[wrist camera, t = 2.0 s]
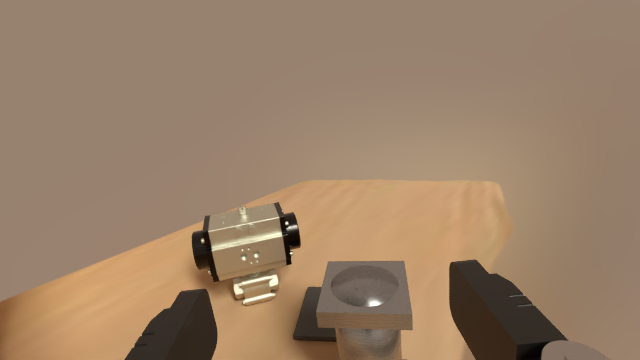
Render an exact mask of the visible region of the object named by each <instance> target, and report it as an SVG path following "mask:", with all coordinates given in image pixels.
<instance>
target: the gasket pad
mask: <svg viewBox="0 0 640 360" xmlns="http://www.w3.org/2000/svg"><path fill="white" fill-rule="evenodd" d="M321 289H322V287H308V289H307V292H306V296H305V299H304V302H303V305H302V309H301V312H300V315H299V319H298V322H297V325H296V329H295V332H294V335H293V336H294V340H322V341H337V339H336V330H335V328H319V327H318V324H317V316H316V310H317V306H318V302H319V298H320V293H321Z"/></svg>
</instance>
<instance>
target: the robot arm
mask: <svg viewBox="0 0 640 360" xmlns="http://www.w3.org/2000/svg"><path fill="white" fill-rule="evenodd" d="M449 300H450V310H451V314H452V317H453V320H454V322H455V324H456V326H457V328H458V329H459V331H460V333H461V335H462V336H463V338H464V340H465V342H466V343H467V345H468V347H469V349H470V350H471V352H472V354H473V356H474V357H475V359H476V360H610V359H609V358H607V357H606V356H605V355H604V354H602V353H600V352H599V351H597V350H595V349H593V348H591V347H589V346H586V345H584V344H581V343H577V342H573V341H568V340H567V339H566V338H565V336H564V335H562V333H561V332H560V331H559V330H558V329H557V328H556V327H555V326H554V325H552V323H551V322H550V321H549V320H548V319H547V318H546V317H545V316H544V315H543V314H542V313H541V312H540V311H539V310H538V309H537V308H536V307H535V306H533V305H532V302H531V301H530V300H529V299H528V298H527V297H526V296H523V293H522V292H521V291H520V290H519V289H518V288H517V287H516V286H515V285H514V284H513V283H512V282H510V281H509V280H507V279H505V278H503V277H501V276H500V275H498V274H489V273H488V272H487V271H486V270H485V269H484V268H483V267H482V266H481V264H480V263H479V262H478V261H477V260H466V261H457V262H451V264H450V268H449ZM216 344H217V326H216V322H215V318H214V314H213V310H212V306H211V302H210V298H209V294H208V292H207V290H206V289H196V290H187V291H181V292H180V293H179V295H178V296H177V298H176V299H175V301H174V303H173V304H172V306H171V307H170V308H168V309H164V310H163V311H162V312H160V313H159V314H158V315H157V316H156V317H155V318H153V319H152V320H151V321H150V323H149V324H148V326H147V327H146V329H145V330H144V332H143V333H142V336H140V337H139V339H138V340H137V342H136V343H135V347H134V348H132V349H131V351H130V352H129V354H128V355H127V357H126V358H125V360H211V359H212V357H213V354H214V351H215V348H216Z"/></svg>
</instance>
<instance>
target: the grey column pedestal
mask: <svg viewBox="0 0 640 360" xmlns="http://www.w3.org/2000/svg"><path fill="white" fill-rule="evenodd" d="M316 316H317V324H318V327H319V328H335V330H336V339H337V348H338V357H339V358H338V360H406V359H402V356H401V330H413V329H412V310H411V303H410V297H409V290H408V284H407V277H406V270H405V264H404V261H334V262H328V264H327V268H326V272H325V277H324V281H323V285H322V289H321V293H320V298H319V302H318V306H317V310H316Z"/></svg>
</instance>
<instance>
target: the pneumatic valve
mask: <svg viewBox="0 0 640 360" xmlns="http://www.w3.org/2000/svg"><path fill="white" fill-rule="evenodd" d="M300 246H301V242H300V234H299V228H298V224H297V220H296V217H295V214H294V213H293V212H292V213H287V214H283V209H281V207H280V204H279V202H278V203H272V204H267V205H262V206H257V207H251V208H246V206H243V208H241V206H240V207H238V210H236V211H230V212H225V213H220V214H215V215H210V216H205V219H204V225H203V230H201V231H196V232H193V234H192V248H193V255H194V259H195V263H196V266H197V268H198V270H202V269H207V268H210V269H209V270H208V272H209V275H210V274H211V276H212V277H213V280H214V282H217V281H221V280H225V279H230V278H234V277H238V276H241V277H239V278H235V279H234V280H233V286H234V292H235V297H236V298H237V299H241V298H245V299H243V305H246V306H248V305H252V304H256V303H260V302H264V301H268V300H272V298H273V297H275V296H276V293H274V292H271V291H273V290H277V289H278V288H279V283H278V278H277V273H276V270H269V269H273V268H277V267H281V266H285V265H290V264H291V256H293V252H292V251H290V250H292V249H296V248H300ZM267 270H269V271H267Z"/></svg>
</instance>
